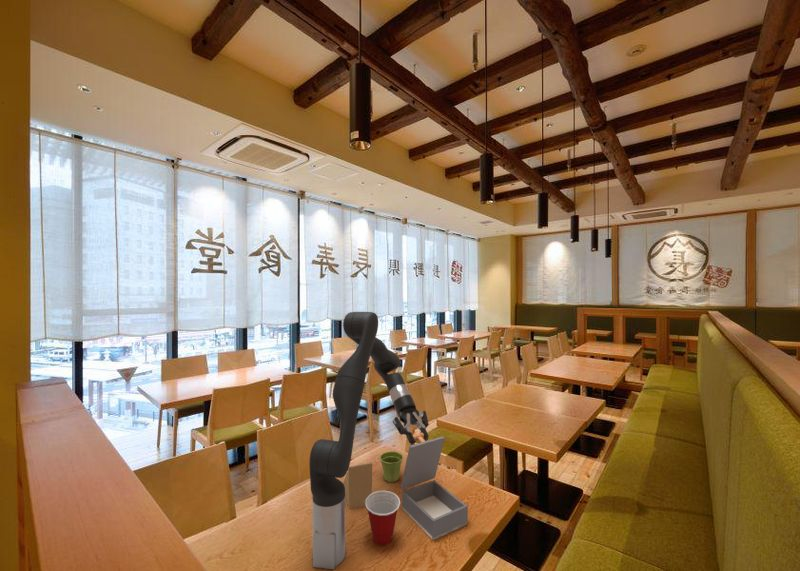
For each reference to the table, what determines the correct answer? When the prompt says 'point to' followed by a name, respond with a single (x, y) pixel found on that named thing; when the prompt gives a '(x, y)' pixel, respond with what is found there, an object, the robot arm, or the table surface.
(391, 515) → the plastic cup
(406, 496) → the carton
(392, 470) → the plant pot
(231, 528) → the table surface
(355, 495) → the sandwich container
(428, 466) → the carton lid
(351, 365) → the robot arm
